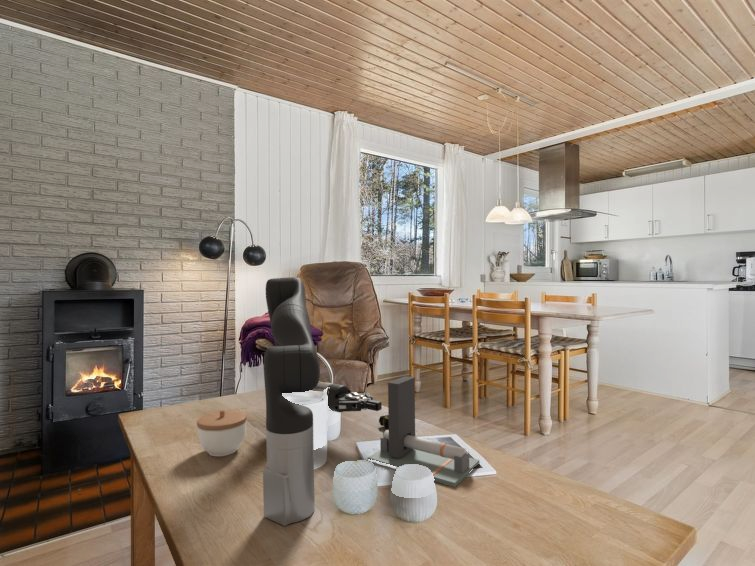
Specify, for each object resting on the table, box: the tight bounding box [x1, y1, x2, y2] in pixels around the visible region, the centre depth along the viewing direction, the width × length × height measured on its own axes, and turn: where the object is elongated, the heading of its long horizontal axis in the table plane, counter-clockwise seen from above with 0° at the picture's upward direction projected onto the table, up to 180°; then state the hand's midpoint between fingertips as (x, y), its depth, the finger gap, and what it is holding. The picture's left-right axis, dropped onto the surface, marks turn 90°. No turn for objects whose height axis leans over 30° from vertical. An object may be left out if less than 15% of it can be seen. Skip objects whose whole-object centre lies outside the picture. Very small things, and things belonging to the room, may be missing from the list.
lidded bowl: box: [196, 409, 248, 458], centre depth 118 cm, size 13×13×11 cm
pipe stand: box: [367, 429, 480, 488], centre depth 109 cm, size 14×24×6 cm, turn 55°
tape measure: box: [378, 414, 389, 430], centre depth 134 cm, size 7×7×4 cm
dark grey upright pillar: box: [387, 376, 416, 458], centre depth 112 cm, size 8×3×19 cm, turn 145°
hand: (380, 406), depth 116 cm, fingers closed
